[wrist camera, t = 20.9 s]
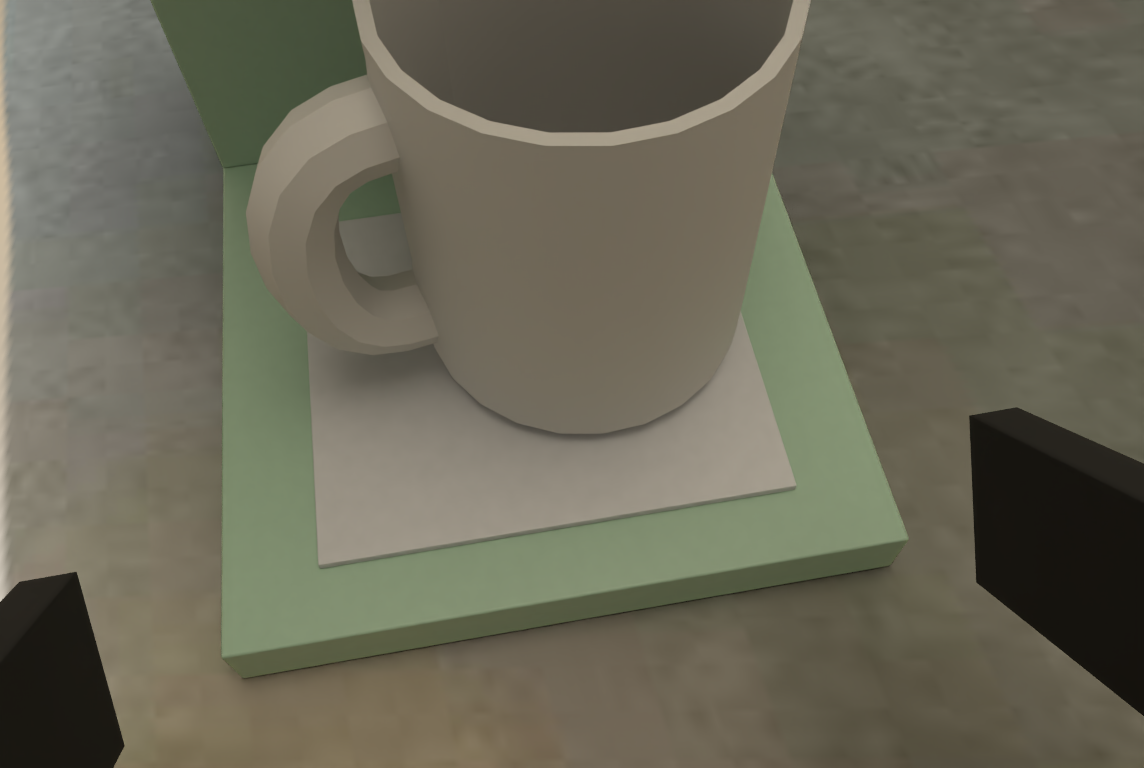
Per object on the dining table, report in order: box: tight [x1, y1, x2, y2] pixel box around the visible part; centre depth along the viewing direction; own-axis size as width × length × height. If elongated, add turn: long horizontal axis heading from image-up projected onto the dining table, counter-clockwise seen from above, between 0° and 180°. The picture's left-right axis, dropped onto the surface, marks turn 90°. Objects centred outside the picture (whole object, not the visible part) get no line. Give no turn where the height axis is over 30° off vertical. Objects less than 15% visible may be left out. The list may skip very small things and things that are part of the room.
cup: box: [246, 0, 811, 434], centre depth 20 cm, size 7×10×9 cm
